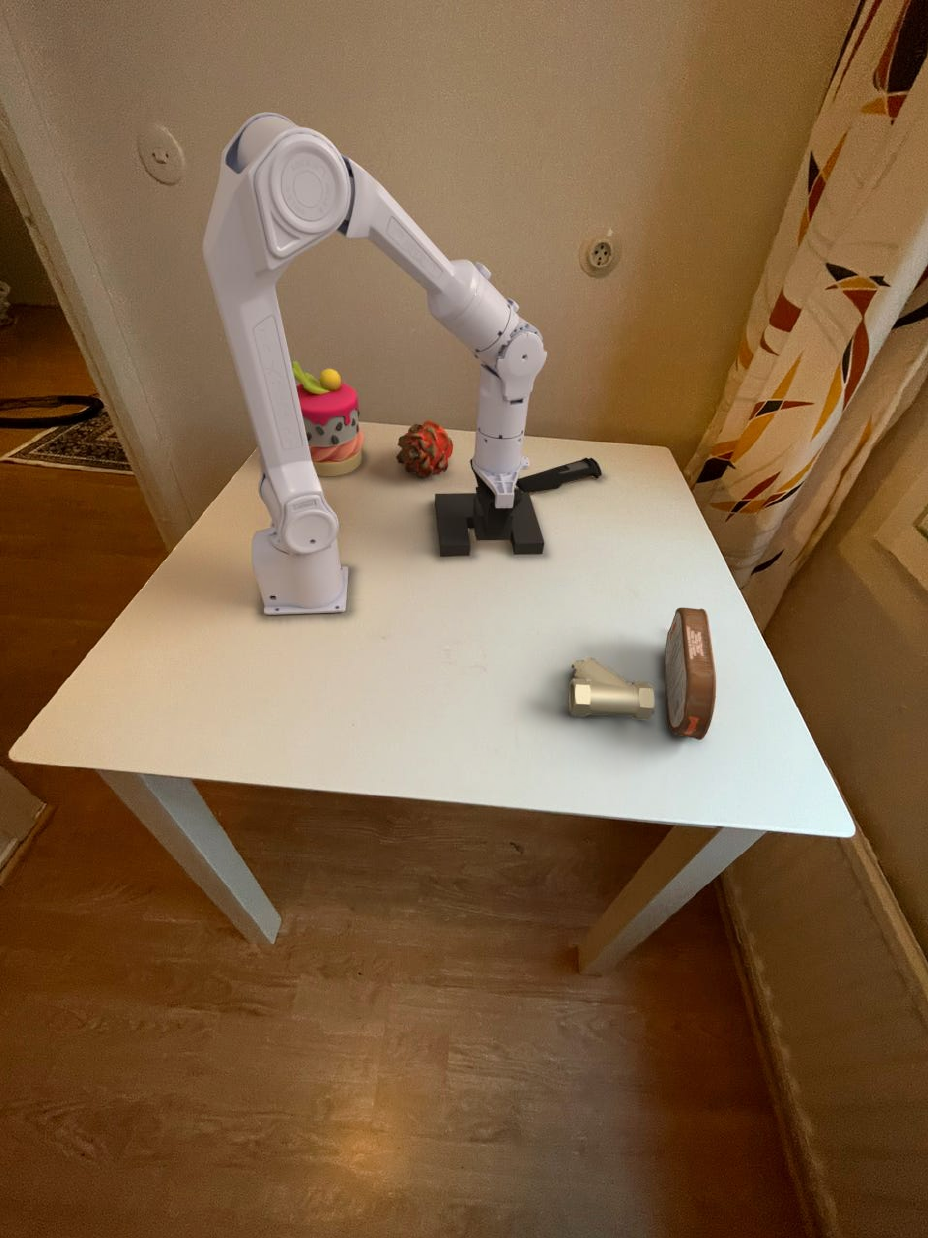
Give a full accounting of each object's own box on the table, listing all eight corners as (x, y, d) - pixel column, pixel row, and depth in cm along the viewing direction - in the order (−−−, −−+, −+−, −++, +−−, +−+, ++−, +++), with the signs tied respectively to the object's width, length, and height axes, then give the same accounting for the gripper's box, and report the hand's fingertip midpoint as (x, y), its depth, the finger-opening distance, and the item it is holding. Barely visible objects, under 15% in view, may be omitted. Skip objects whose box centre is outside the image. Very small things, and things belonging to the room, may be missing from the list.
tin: (695, 756, 56) (727, 707, 50) (663, 749, 56) (691, 700, 50) (684, 645, 66) (710, 593, 60) (657, 640, 66) (680, 588, 60)
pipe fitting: (563, 673, 63) (570, 721, 58) (569, 648, 60) (576, 697, 55) (634, 677, 63) (647, 726, 58) (643, 653, 60) (657, 701, 55)
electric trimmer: (508, 490, 87) (510, 472, 85) (588, 467, 92) (592, 450, 90) (521, 503, 85) (523, 485, 83) (602, 479, 90) (606, 461, 88)
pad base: (440, 556, 75) (440, 545, 73) (434, 504, 83) (435, 493, 82) (542, 554, 76) (544, 542, 75) (527, 503, 85) (529, 492, 83)
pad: (476, 541, 74) (478, 516, 72) (472, 520, 78) (474, 495, 75) (510, 540, 75) (513, 515, 72) (505, 519, 78) (508, 495, 75)
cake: (351, 438, 95) (342, 347, 85) (373, 469, 89) (365, 374, 78) (290, 450, 92) (272, 356, 81) (308, 483, 85) (291, 386, 75)
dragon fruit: (416, 501, 86) (423, 470, 96) (462, 472, 83) (465, 443, 93) (382, 456, 82) (393, 428, 91) (429, 424, 79) (435, 399, 88)
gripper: (546, 459, 61) (529, 555, 71) (523, 399, 71) (512, 490, 81) (482, 459, 60) (474, 557, 70) (468, 399, 70) (463, 491, 80)
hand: (491, 521), depth 75 cm, fingers closed on pad, 4 cm apart
